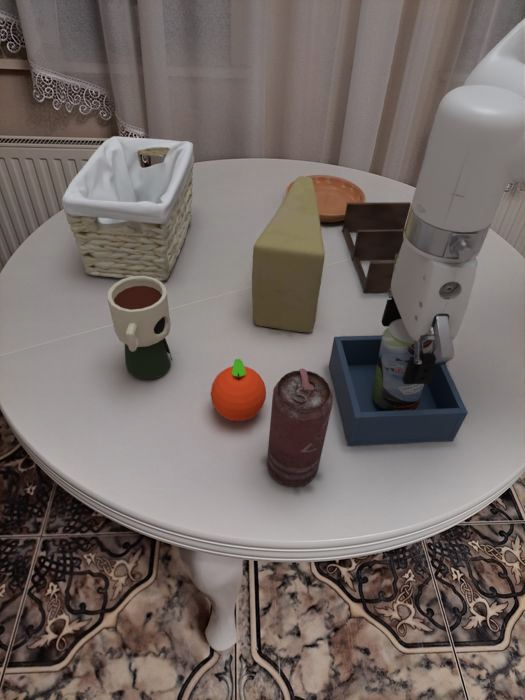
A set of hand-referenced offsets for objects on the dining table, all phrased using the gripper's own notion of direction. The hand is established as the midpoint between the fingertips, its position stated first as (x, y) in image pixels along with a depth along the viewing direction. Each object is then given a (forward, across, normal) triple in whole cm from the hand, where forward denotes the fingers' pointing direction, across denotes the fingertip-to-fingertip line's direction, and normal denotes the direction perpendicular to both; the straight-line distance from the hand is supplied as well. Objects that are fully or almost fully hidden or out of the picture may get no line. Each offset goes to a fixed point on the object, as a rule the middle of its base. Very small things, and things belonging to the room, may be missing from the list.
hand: (404, 351), depth 62 cm
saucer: (+10, +51, 0) cm, 52 cm away
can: (+10, -9, +14) cm, 19 cm away
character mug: (+10, +8, +32) cm, 34 cm away
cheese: (+10, +25, +10) cm, 29 cm away
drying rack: (+10, +32, -8) cm, 35 cm away
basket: (+10, +38, +35) cm, 53 cm away
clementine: (+10, 0, +20) cm, 22 cm away
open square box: (+9, 0, 0) cm, 9 cm away
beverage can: (+9, 0, 0) cm, 9 cm away
